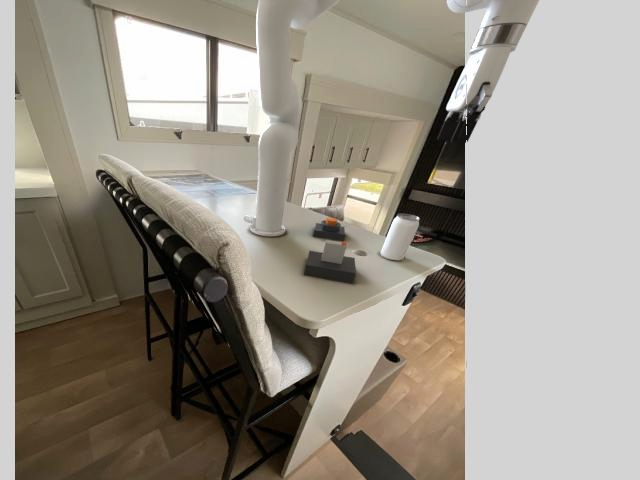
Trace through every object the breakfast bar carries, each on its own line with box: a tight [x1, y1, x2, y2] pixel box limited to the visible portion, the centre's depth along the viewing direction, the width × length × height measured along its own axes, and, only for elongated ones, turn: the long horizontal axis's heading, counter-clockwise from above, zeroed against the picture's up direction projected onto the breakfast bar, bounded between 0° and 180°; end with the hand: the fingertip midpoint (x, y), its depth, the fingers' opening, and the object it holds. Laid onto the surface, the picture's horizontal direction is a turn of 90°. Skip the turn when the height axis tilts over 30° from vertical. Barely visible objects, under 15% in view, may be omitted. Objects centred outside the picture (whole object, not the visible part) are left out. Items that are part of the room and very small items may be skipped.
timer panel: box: [303, 250, 357, 285], centre depth 66 cm, size 12×9×3 cm
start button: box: [325, 217, 338, 226], centre depth 86 cm, size 4×4×2 cm
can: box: [380, 213, 421, 262], centre depth 72 cm, size 6×6×12 cm
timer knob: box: [321, 239, 348, 264], centre depth 64 cm, size 5×2×5 cm, turn 72°
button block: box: [312, 219, 346, 242], centre depth 88 cm, size 10×8×4 cm
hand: (450, 141), depth 61 cm, fingers open, 9 cm apart
